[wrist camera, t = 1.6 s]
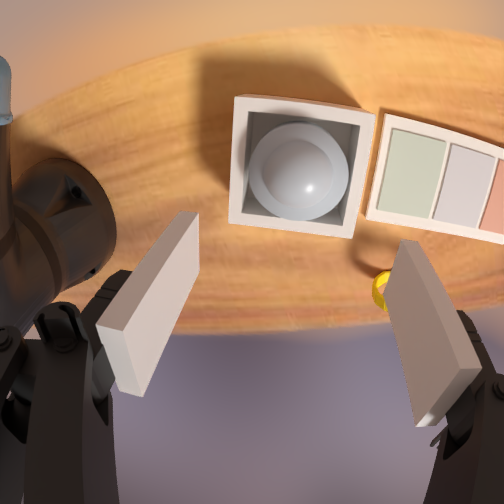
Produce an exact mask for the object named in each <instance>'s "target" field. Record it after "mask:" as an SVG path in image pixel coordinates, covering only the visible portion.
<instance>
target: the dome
mask: <svg viewBox="0 0 504 504" xmlns="http://www.w3.org/2000/svg"><path fill="white" fill-rule="evenodd" d="M348 177H349V173H348V165H347V161H346V158H345V156H344V153H343V151H342V150H341V148H340V146H339V145H338V143H337V142H336V140H335V139H334V137H333V136H332V135H331V134H330V133H329V132H328V131H327V130H325V129H324V128H322V127H321V126H319V125H317V124H314V123H311V122H307V121H299V120H296V121H288V122H284V123H281V124H279V125H277V126H275V127H273V128H272V129H270V130H269V131H268V132H267V133H266V134H265V135H264V136H263V137H262V139H261V140H260V142H259V143H258V145H257V147H256V148H255V150H254V152H253V154H252V156H251V159H250V163H249V182H250V186H251V189H252V191H253V194H254V195H255V197H256V199H257V200H258V201H259V202H260V204H261V205H262V206H263V207H264V208H265V209H267V210H268V211H269V212H271V213H273V214H274V215H276V216H278V217H281V218H284V219H287V220H292V221H306V220H312V219H315V218H318V217H320V216H323V215H324V214H326V213H328V212H329V211H330V210H332V209H333V208H334V207H335V206H336V205H337V204H338V203H339V201H340V200H341V199H342V197H343V195H344V193H345V190H346V188H347V184H348Z"/></svg>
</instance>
